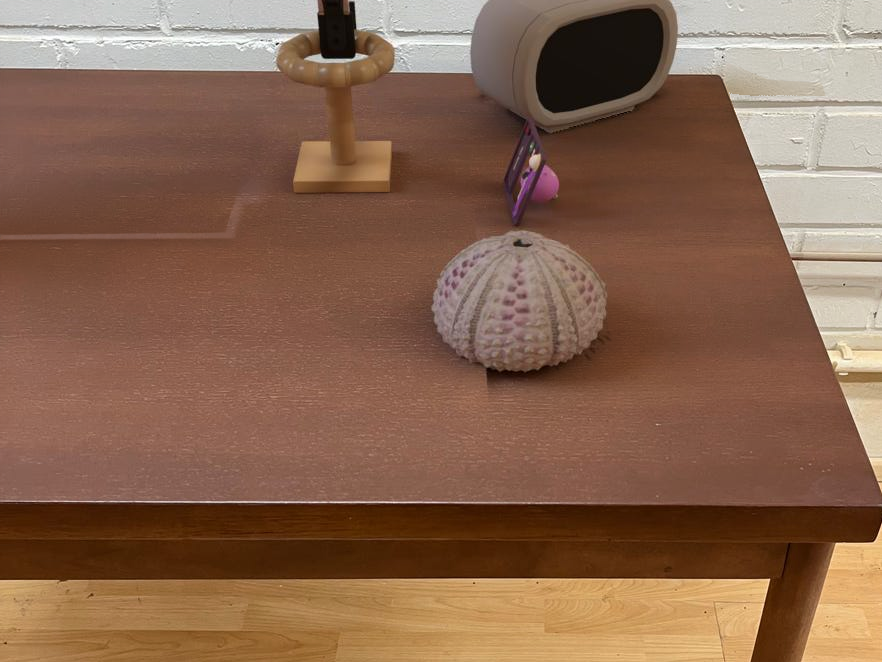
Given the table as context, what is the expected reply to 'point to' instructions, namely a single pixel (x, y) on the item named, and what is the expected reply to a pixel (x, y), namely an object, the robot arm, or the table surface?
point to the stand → (342, 155)
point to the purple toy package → (529, 173)
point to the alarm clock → (572, 56)
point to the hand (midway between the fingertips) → (339, 50)
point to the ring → (335, 73)
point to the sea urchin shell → (519, 302)
